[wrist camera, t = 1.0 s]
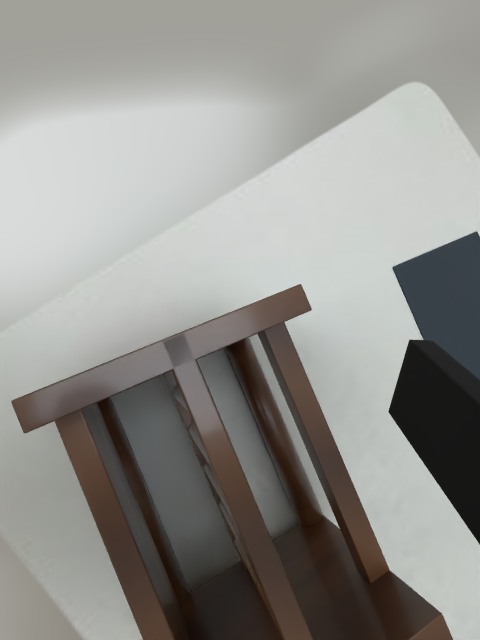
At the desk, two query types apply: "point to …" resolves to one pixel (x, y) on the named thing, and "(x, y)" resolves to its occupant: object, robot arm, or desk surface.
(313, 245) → the desk surface
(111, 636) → the desk surface
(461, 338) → the mat
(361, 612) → the rack
